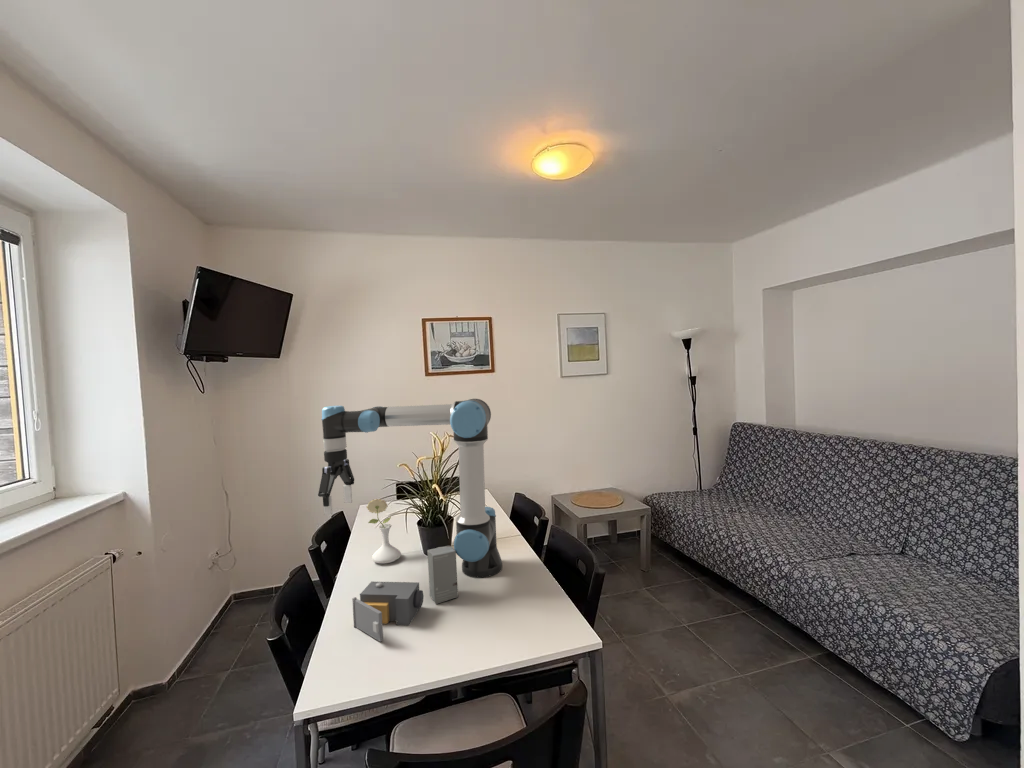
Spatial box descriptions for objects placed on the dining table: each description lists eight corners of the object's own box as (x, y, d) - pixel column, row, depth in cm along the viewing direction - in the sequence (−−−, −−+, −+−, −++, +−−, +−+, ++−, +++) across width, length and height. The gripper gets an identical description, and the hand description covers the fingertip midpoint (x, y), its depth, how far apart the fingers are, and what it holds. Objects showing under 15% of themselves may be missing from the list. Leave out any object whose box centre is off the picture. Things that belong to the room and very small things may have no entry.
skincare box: (435, 605, 142) (431, 557, 141) (428, 595, 148) (425, 549, 147) (460, 597, 146) (456, 550, 145) (452, 588, 152) (449, 543, 151)
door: (353, 628, 130) (352, 601, 130) (359, 625, 131) (357, 599, 131) (377, 643, 122) (376, 614, 122) (383, 639, 124) (381, 611, 123)
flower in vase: (405, 554, 182) (402, 494, 181) (395, 566, 171) (392, 502, 170) (374, 553, 184) (371, 494, 183) (363, 566, 172) (359, 503, 171)
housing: (425, 607, 141) (423, 580, 140) (412, 629, 129) (410, 600, 128) (370, 605, 143) (369, 579, 143) (353, 627, 131) (351, 598, 131)
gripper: (343, 443, 169) (346, 498, 170) (304, 456, 144) (308, 520, 145) (361, 443, 168) (364, 498, 169) (325, 456, 143) (329, 520, 144)
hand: (338, 508), depth 157 cm, fingers open, 13 cm apart
